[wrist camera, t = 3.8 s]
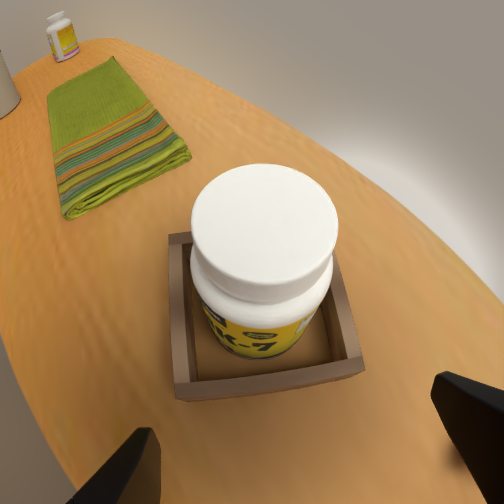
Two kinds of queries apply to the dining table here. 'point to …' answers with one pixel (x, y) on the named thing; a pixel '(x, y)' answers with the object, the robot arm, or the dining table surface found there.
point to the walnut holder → (190, 389)
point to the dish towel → (107, 138)
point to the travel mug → (7, 90)
